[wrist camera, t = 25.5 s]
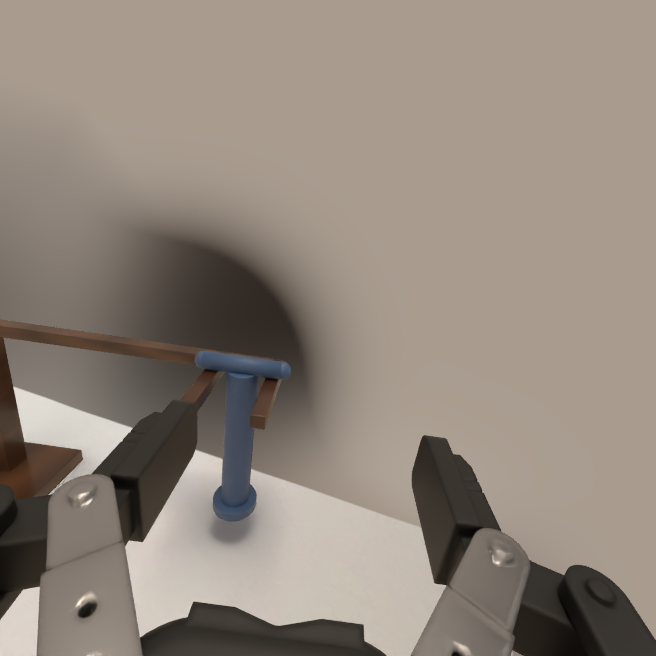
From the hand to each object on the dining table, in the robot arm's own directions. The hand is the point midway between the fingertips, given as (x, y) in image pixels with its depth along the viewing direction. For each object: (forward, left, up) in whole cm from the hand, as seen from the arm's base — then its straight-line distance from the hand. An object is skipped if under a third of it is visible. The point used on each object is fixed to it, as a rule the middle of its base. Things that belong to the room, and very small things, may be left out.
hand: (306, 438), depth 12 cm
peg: (+7, -18, -24) cm, 30 cm away
